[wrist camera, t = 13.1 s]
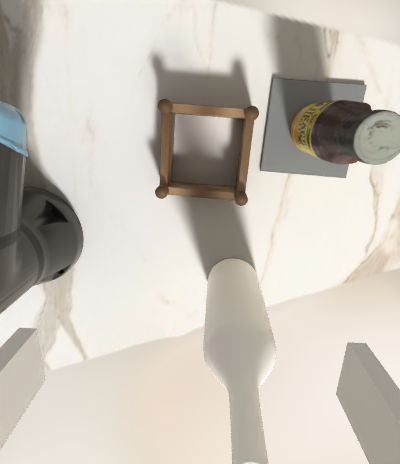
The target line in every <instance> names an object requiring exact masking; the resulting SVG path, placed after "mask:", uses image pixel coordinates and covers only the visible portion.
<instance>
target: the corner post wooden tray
mask: <svg viewBox="0 0 400 464" xmlns="http://www.w3.org/2000/svg"><path fill="white" fill-rule="evenodd" d="M158 109H159V111H160V112H161V113H162V135H161V162H160V186H159V187H158V188H157V189H156V190H155V194H156V196H157V197H158V198H161V199H162V198H165V197H166V196H167V195H180V196H191V197H202V198H214V199H225V200H235V201H236V203H237V204H238V205H240V206H243V205H245V204H246V203H247V201H248V198H247V195H246V193H245V189H246V181H247V173H248V165H249V157H250V149H251V141H252V133H253V125H254V120H255V119H256V118H257V117H258V115H259V111H258V109H257V108H256V107H255V106H250V107H248V108H247V109H239V108H226V107H213V106H201V105H188V104H176V103H172V102H170V101H168V100H167V99H162V100H160V101H159V103H158ZM175 114H188V115H201V116H213V117H226V118H238V119H243V128H242V136H241V145H240V154H239V162H238V171H237V180H236V187H227V186H216V185H204V184H193V183H181V182H172V166H173V145H174V124H175Z"/></svg>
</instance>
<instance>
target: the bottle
mask: <svg viewBox="0 0 400 464" xmlns="http://www.w3.org/2000/svg"><path fill="white" fill-rule="evenodd" d="M204 358H205V362H206V364H207V366H208V368H209V370H210V372H211V373H212V374H213V375H214V376H215V378H216V379H217V380H218V381H219V382H220V383H221V384H222V385H223V386H224V387H225V388H226V389H227V390H228V392H229V401H230V419H231V441H232V464H268V458H267V451H266V445H265V438H264V431H263V425H262V417H261V410H260V403H259V395H258V389H259V388H260V386H261V385H262V384H263V382H264V381H265V380H266V378H267V377H268V375H269V374H270V372H271V370H272V368H273V366H274V363H275V360H276V346H275V341H274V337H273V333H272V330H271V326H270V322H269V318H268V314H267V311H266V307H265V303H264V299H263V296H262V292H261V288H260V284H259V281H258V277H257V274H256V272H255V270H254V268H253V267H252V266H251V265H250V264H249V263H247V262H245V261H243V260H240V259H235V258H231V259H225V260H223V261H220V262H219V263H217V264H216V265H215V266H214V267H213V268H212V270H211V271H210V274H209V277H208V286H207V300H206V315H205V331H204Z"/></svg>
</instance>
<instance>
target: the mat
mask: <svg viewBox="0 0 400 464" xmlns="http://www.w3.org/2000/svg"><path fill="white" fill-rule="evenodd" d="M366 86H367V85H358V84H345V83H332V82H319V81H305V80H292V79H279V78H273V82H272V89H271V96H270V103H269V111H268V118H267V125H266V132H265V140H264V147H263V154H262V162H261V169H260V171H268V172H280V173H292V174H304V175H316V176H327V177H339V178H346V175H347V170H348V166H349V164H344V165H341V164H334V163H330V162H327V161H324V160H321V159H319V158H317V157H315V156H313V155H310V154H308V153H305V152H303V151H301V150H300V149H299V148H297V147H296V145H295V144H294V142H293V140H292V138H291V134H290V133H291V125H292V121H293V119H294V117H295V116H296V115H297V113H299V112H300V111H301V110H302V109H303V108H304V107H306V106H308V105H310V104H314V103H321V102H329V101H337V100H349V101H356V102H362V103H363V99H364V95H365V91H366Z"/></svg>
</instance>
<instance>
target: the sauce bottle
mask: <svg viewBox="0 0 400 464" xmlns="http://www.w3.org/2000/svg"><path fill="white" fill-rule="evenodd" d="M290 134H291V138H292V140H293V142H294V144H295V145H296V147H297V148H299V149H300V150H301V151H303V152H305V153H308V154H310V155H313V156H315V157H317V158H319V159H321V160H324V161H327V162H330V163H334V164H341V165H344V164H351V163H356V162H357V161H360V162H363V163H367V164H373V165H377V164H383V163H386V162H388V161H390V160H392V159H393V158H395V157H396V156H397V155H398V154H399V153H400V115H398V114H397V113H396V112H392V111H388V110H374V111H372V110H371V106H370V105H369V104H367V103H362V102H356V101H349V100H337V101H329V102H321V103H314V104H310V105H308V106H306V107H304V108H303V109H302V110H301V111H300V112H299V113H297V115H296V116H295V117H294V119H293V121H292V125H291V133H290Z"/></svg>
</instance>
